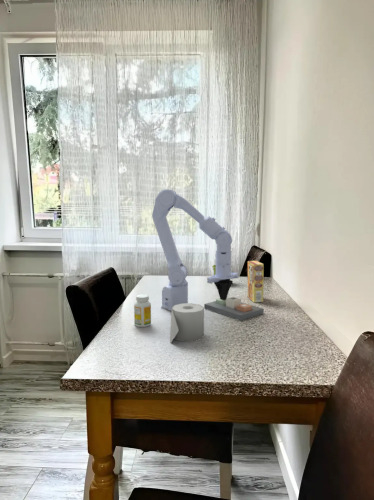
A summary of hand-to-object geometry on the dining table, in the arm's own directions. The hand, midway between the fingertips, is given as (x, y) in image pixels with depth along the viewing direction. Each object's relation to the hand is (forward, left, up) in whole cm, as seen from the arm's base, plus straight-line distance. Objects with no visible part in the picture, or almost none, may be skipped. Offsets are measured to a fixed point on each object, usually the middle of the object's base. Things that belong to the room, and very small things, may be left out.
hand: (223, 299), depth 135 cm
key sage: (0, 0, -3) cm, 3 cm away
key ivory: (0, -5, -2) cm, 5 cm away
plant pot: (+28, +29, -3) cm, 40 cm away
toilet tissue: (-29, -13, -3) cm, 32 cm away
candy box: (+18, 0, -3) cm, 18 cm away
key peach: (0, -10, -3) cm, 11 cm away
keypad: (0, -5, -3) cm, 6 cm away
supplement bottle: (-33, +4, -3) cm, 33 cm away
